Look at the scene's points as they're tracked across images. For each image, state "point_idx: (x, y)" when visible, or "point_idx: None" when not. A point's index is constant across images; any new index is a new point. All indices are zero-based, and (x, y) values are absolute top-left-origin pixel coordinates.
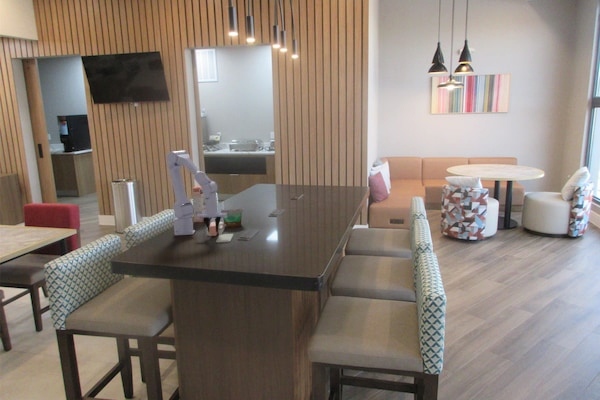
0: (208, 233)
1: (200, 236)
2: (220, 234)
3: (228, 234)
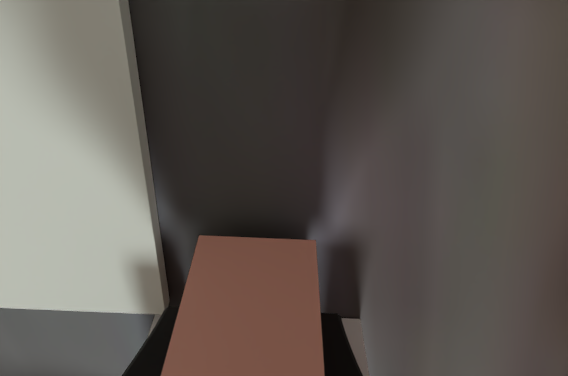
0: None
1: (468, 309)
2: (153, 306)
3: (14, 284)
